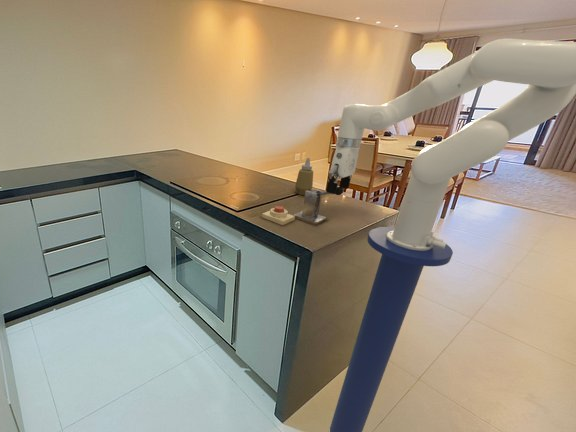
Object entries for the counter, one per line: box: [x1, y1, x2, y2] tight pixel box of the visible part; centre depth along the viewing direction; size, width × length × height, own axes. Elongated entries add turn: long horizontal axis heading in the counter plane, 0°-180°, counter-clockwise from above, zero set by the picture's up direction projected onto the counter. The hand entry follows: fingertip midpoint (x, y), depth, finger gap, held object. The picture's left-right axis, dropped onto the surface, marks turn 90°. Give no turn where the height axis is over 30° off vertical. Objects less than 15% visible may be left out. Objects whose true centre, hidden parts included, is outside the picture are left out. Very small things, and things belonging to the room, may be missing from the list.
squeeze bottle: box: [294, 157, 314, 196], centre depth 144 cm, size 8×8×18 cm
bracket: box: [292, 188, 327, 226], centre depth 117 cm, size 10×8×12 cm
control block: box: [261, 207, 296, 226], centre depth 118 cm, size 10×8×4 cm
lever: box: [315, 185, 344, 198], centre depth 111 cm, size 13×3×3 cm, turn 39°
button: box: [274, 205, 285, 213], centre depth 117 cm, size 4×4×2 cm
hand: (337, 190), depth 107 cm, fingers open, 9 cm apart
